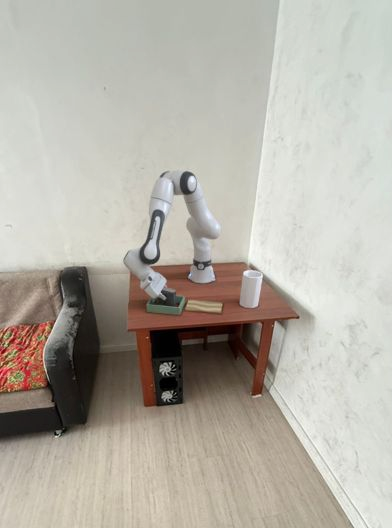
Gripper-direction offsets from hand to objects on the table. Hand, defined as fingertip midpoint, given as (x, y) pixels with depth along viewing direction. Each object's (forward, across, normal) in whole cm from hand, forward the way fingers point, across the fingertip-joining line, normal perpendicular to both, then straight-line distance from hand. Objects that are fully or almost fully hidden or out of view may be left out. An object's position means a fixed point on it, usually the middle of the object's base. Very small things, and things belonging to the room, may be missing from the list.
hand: (167, 295), depth 161 cm
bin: (+4, 0, -6) cm, 7 cm away
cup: (+37, -13, +27) cm, 48 cm away
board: (+20, -4, +9) cm, 22 cm away
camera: (+4, 0, -5) cm, 6 cm away
